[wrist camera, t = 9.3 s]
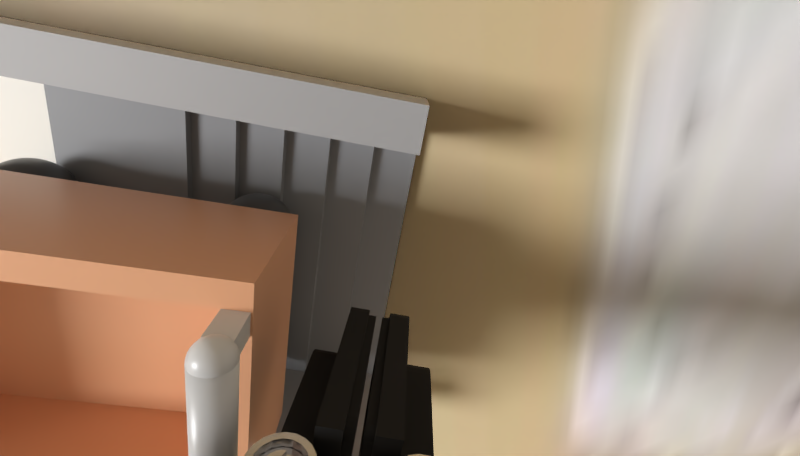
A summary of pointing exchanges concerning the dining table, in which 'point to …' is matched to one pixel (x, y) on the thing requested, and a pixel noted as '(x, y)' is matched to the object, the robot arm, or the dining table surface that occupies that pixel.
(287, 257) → the orange drawer with handle
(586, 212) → the dining table surface
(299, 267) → the drawer housing
